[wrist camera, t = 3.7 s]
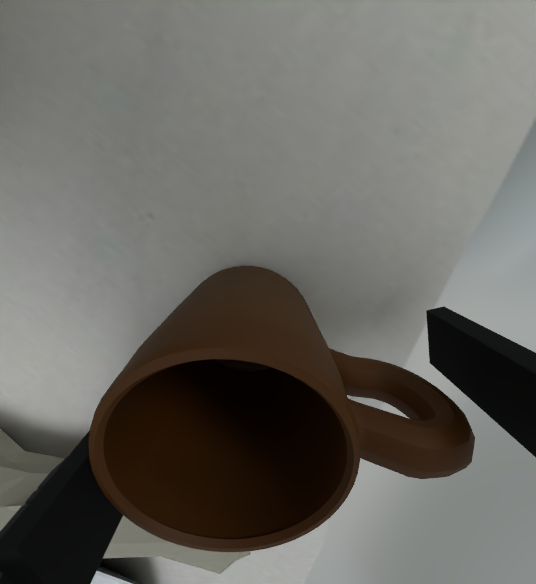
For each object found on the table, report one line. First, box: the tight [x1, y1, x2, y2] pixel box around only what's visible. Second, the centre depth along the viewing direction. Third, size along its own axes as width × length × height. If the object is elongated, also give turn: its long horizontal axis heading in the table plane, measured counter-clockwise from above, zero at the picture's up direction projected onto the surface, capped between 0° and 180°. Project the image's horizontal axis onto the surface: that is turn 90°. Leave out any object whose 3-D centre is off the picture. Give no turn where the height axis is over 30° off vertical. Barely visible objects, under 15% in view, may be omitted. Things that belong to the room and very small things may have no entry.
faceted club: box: [0, 429, 250, 574], centre depth 16 cm, size 9×8×25 cm
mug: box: [88, 266, 475, 552], centre depth 11 cm, size 12×8×9 cm, turn 85°
